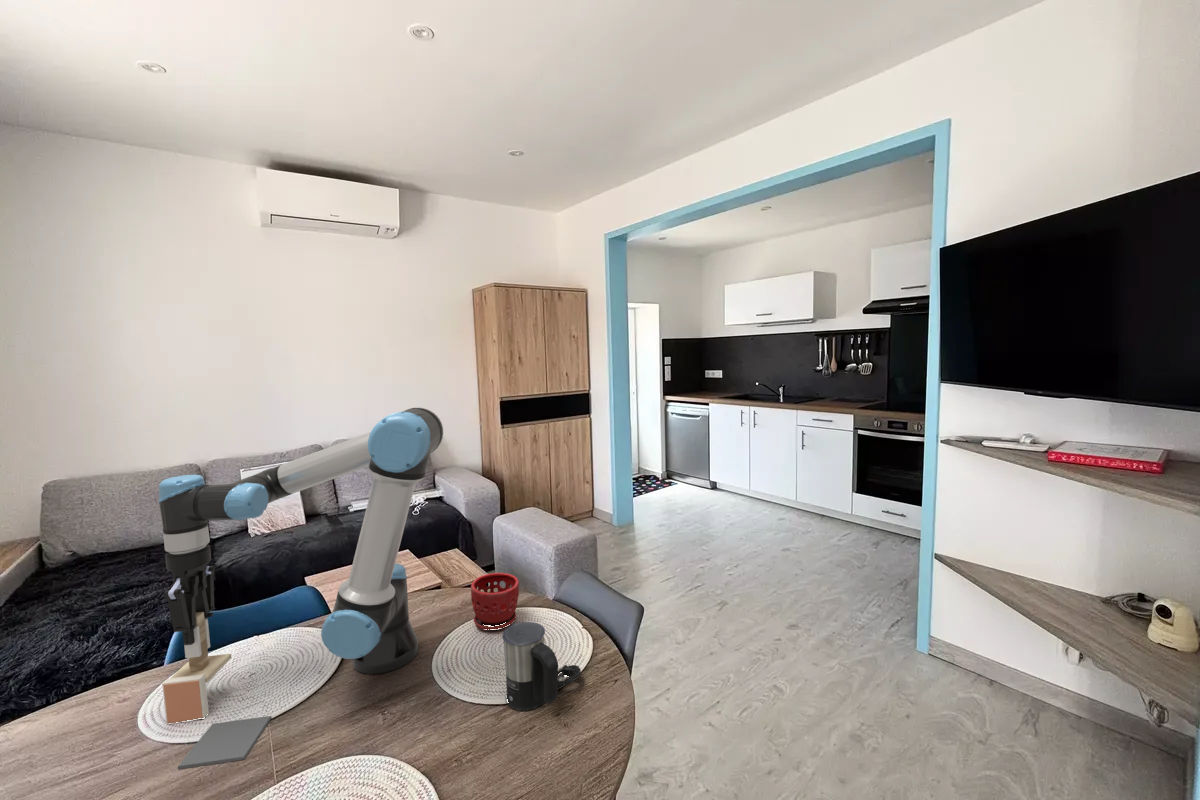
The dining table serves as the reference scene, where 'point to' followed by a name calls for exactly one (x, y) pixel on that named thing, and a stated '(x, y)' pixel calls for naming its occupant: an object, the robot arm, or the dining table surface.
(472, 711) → the dining table surface
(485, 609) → the plant pot
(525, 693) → the milk frother
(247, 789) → the dining table surface
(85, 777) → the dining table surface
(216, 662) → the block tower on stand
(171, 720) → the tile
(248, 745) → the rest mat
